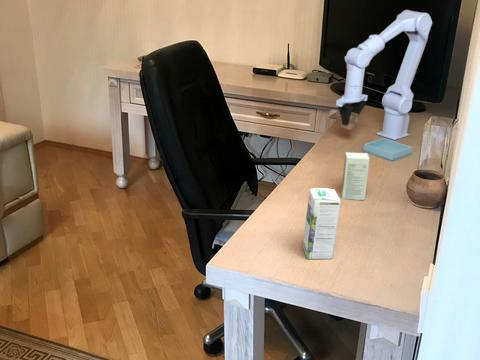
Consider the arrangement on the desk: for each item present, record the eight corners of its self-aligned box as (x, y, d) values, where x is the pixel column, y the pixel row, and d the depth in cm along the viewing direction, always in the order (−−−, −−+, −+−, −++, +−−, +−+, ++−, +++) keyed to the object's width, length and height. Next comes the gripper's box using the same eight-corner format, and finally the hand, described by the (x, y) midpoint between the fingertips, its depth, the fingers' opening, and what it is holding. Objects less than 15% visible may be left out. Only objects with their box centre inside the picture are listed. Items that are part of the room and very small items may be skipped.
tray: (383, 144, 186) (384, 137, 185) (411, 154, 178) (413, 147, 177) (362, 151, 178) (363, 144, 177) (391, 161, 171) (393, 154, 170)
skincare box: (363, 194, 146) (369, 153, 141) (364, 200, 142) (371, 158, 137) (339, 192, 147) (345, 151, 142) (340, 199, 143) (346, 156, 138)
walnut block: (347, 125, 187) (349, 111, 185) (356, 127, 184) (358, 114, 182) (340, 126, 184) (342, 113, 182) (349, 129, 182) (351, 116, 180)
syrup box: (301, 246, 119) (307, 187, 113) (327, 246, 120) (334, 187, 114) (306, 259, 114) (313, 199, 108) (333, 259, 114) (341, 199, 109)
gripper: (357, 80, 185) (353, 117, 191) (330, 85, 177) (326, 123, 182) (374, 84, 181) (368, 122, 186) (347, 89, 172) (342, 129, 177)
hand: (349, 123), depth 184 cm, fingers closed on walnut block, 4 cm apart
